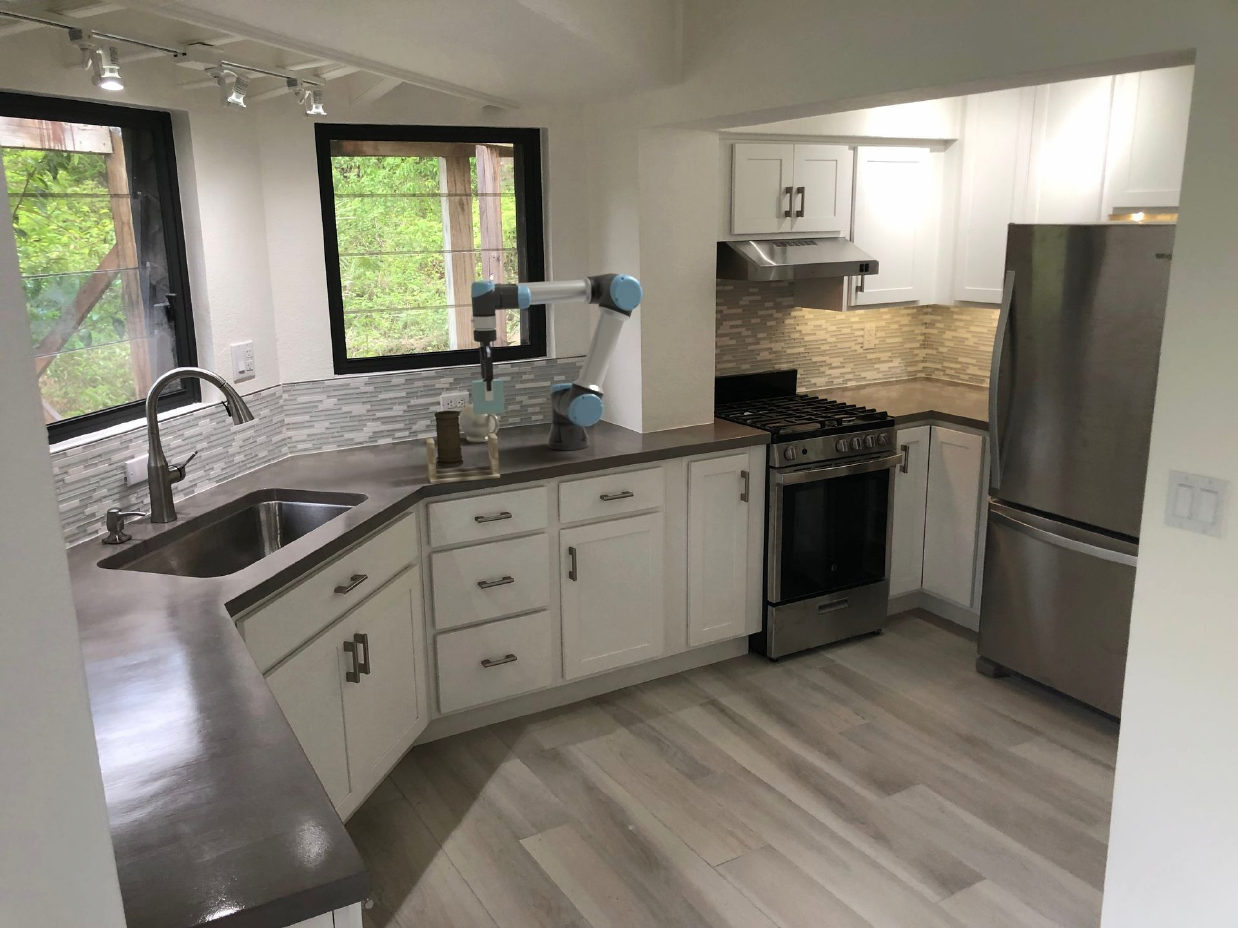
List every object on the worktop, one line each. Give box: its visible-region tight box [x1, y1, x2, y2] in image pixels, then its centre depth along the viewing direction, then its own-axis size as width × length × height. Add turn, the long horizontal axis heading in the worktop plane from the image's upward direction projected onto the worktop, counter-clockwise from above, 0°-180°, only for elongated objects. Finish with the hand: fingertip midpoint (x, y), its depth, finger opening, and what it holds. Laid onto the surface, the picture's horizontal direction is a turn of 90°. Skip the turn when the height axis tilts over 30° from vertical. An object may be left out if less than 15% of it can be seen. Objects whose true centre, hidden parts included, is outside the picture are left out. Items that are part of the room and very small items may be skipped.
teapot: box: [458, 402, 500, 444], centre depth 362 cm, size 18×14×16 cm
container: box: [434, 410, 464, 468], centre depth 328 cm, size 9×9×18 cm
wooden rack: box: [425, 433, 501, 484], centre depth 313 cm, size 22×11×13 cm, turn 106°
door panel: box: [471, 378, 505, 415], centre depth 324 cm, size 10×4×11 cm, turn 106°
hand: (488, 399), depth 324 cm, fingers closed on door panel, 3 cm apart
